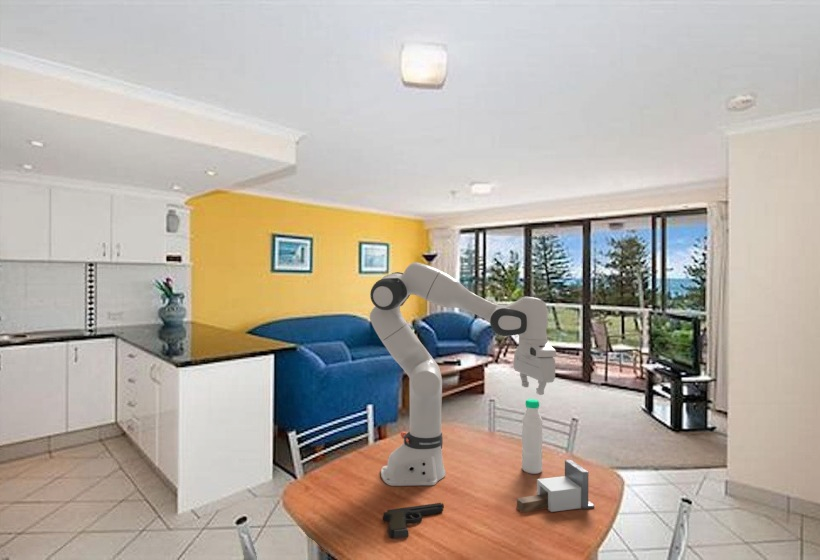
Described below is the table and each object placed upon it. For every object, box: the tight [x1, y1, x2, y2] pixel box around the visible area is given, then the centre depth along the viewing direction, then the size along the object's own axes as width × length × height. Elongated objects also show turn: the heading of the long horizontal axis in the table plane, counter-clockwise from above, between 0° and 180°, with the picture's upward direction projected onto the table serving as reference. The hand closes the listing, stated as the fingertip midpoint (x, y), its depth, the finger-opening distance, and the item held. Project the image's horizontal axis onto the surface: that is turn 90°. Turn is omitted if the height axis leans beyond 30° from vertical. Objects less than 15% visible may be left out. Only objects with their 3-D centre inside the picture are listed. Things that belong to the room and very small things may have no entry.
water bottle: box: [521, 398, 544, 475], centre depth 155 cm, size 7×7×25 cm
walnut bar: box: [516, 493, 548, 513], centre depth 130 cm, size 14×3×3 cm, turn 108°
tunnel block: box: [536, 475, 581, 513], centre depth 131 cm, size 10×8×6 cm
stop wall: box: [564, 459, 595, 511], centre depth 133 cm, size 4×9×11 cm, turn 14°
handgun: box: [382, 502, 445, 540], centre depth 121 cm, size 3×19×12 cm
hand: (532, 390), depth 139 cm, fingers open, 8 cm apart
